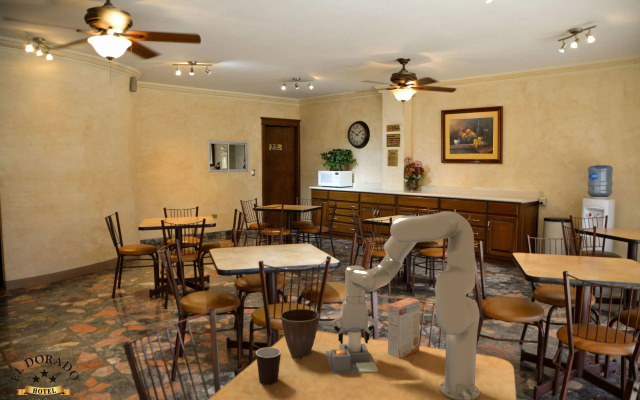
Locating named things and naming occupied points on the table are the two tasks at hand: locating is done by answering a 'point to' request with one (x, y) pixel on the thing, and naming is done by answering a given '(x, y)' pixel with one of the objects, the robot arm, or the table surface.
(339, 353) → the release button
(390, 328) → the cracker box
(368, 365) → the mat
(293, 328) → the plant pot
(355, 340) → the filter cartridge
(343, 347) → the grey compartment tray
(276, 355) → the coffee mug
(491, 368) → the table surface
